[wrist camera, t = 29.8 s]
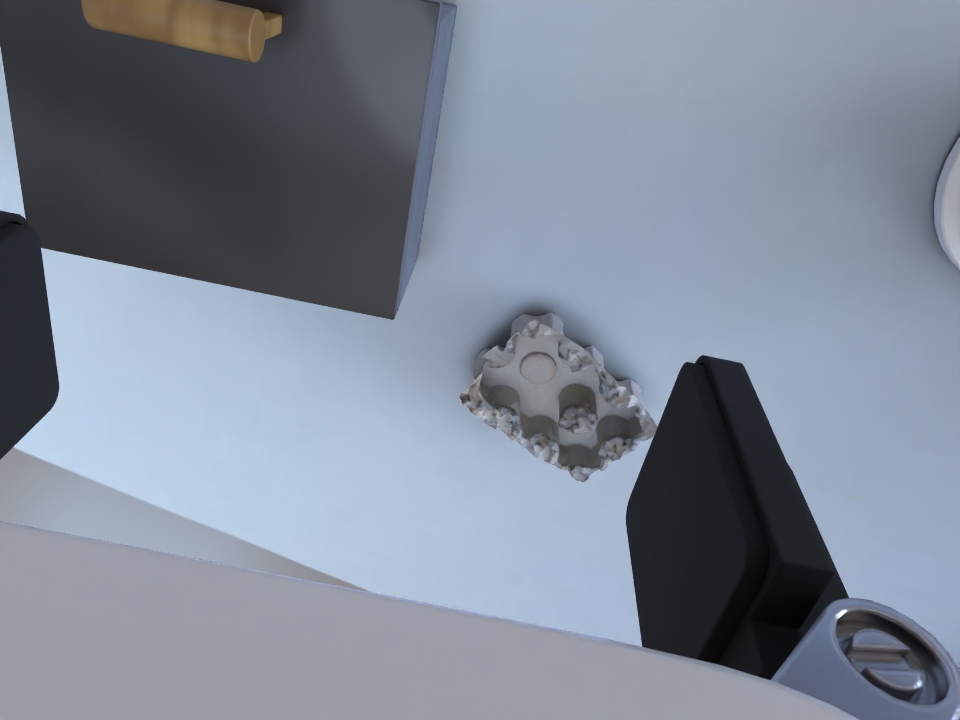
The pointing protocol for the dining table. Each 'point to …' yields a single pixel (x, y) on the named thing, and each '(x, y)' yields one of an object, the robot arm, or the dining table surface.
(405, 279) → the chest
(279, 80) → the lid
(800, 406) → the dining table surface
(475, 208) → the dining table surface
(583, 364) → the grey rock
